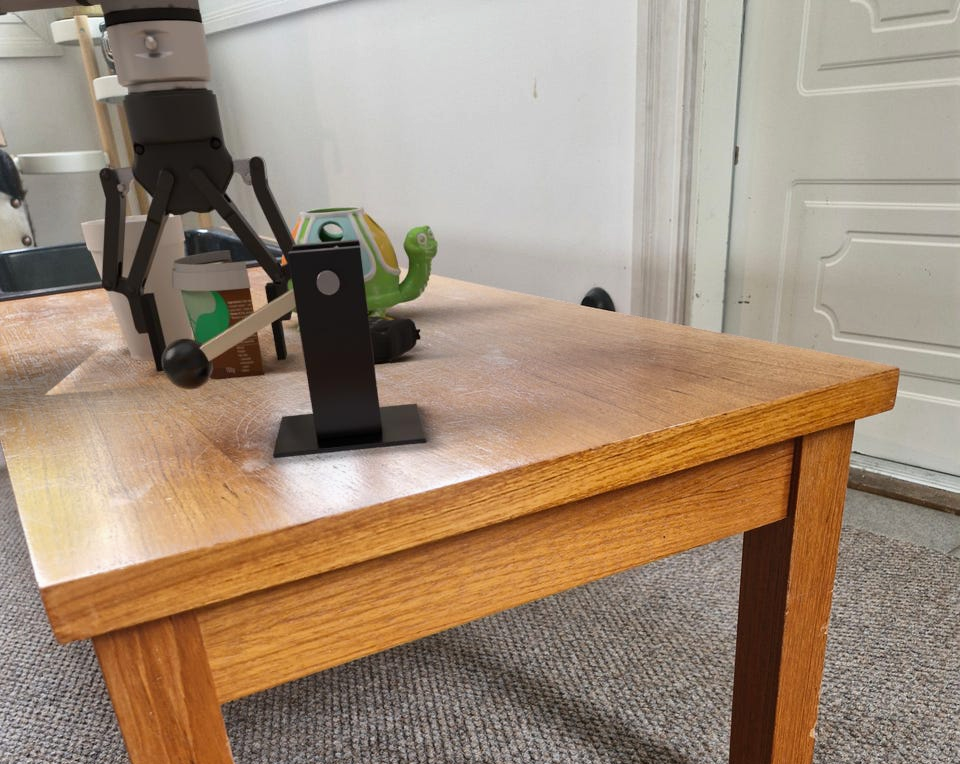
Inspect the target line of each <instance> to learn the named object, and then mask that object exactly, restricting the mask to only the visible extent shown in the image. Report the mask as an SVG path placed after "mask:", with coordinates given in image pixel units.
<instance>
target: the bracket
mask: <svg viewBox="0 0 960 764" xmlns="http://www.w3.org/2000/svg"><path fill="white" fill-rule="evenodd" d="M336 246H338V247H337V248H334V247H336ZM291 248H292V251H289V252H288V260H289V266H290V272H291V279H292V285H293V291H294V298H295V304H296V310H297V313H296V316H297V323H298V326H299V329H300V332H299V335H300V342H301V347H302V354H303V355H302V356H303V360H304V367H305V373H306V380H307V385H308V386H307V387H308V392H309V398H310V405H311V411H312V413H305V414H304V413H303V414H294V415H284V416H281V419H280V424H279V427H278V432H277V437H276V441H275V445H274V449H273V452H272V458H273V459H280V458H288V457H289V458H290V457H299V456H308V455H309V456H311V455H318V454H328V453H338V452H348V451H349V452H350V451H360V450H368V449H379V448H388V447H389V448H390V447H397V446H407V445H418V444H426V443H427V436H426V433H425V429H424V425H423V423H422V422H423V421H422V418H421V413H420V409H419V406H418V404H417V403H408V404H395V405H387V406H380V399H379V391H378V383H377V373H376V366H375V363H374V357H373V349H372V341H371V332H370V324H369V316H368V314H369V312H368V307H367V299H366V291H365V282H364V274H363V266H362V257H361V249H360V241H359V240H358V239H357V240H344V241H332V242H320V243H308V244H296V245H292V247H291Z"/></svg>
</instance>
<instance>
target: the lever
mask: <svg viewBox="0 0 960 764" xmlns="http://www.w3.org/2000/svg"><path fill="white" fill-rule="evenodd" d="M337 247H338V246H336V247H334V248H337ZM295 308H296V304H295V298H294V291H293V288H292V289H291V290H289V291H287V292H286V293H284V294H283V295H281V296H279V297H278V298H276V299H274V300H273V301H271V302H270V303H268V302H267V303H266V304H265V305H263V306H261V307H260V308H258V309H257V310H255V311H254V313H252V314H250V315H249V316H247V317H246V318H244V319H242V320H241V321H239V322H238V323H236V324H234V325H233V326H231V327H230V328H228V329H226V330H225V331H223V332H221V333H220V334H218V335H217V336H215V337H213V338H212V339H210V340H209V341H207V342H205V343H204V344H202V345H201V344H200V343H198V342H197V341H195V339H192V340H191V339H179V340H176V341H173V342H172V343H170V344H169V345H168V346H167V347H166V349H165V350H164V352H163V355H162V369H163V371H162V372H163V374H164V376H165V377H166V378H167V380H168V381H169V382H170V383H171V384H172V385H173V386H176V387H177V388H180V389H183V390H197V389H200V388H201V387H203V386H205V385H206V383H208V381H209V380H210V379H211V378H210V377H211V374H212V369H213V363H212V359H214V358H216V357H217V356H219V355H220V354H222V353H224V352H225V351H227V350H228V349H230V348H232V347H233V346H235V345H237V344H238V343H240V342H241V341H243V340H245V339H246V338H248V337H249V336H251V335H253V334H254V333H256V332H257V333H258V332H259V331H261V330H262V329H264V328H266V327H268V326H269V325H271V323H272V322H274V321H275V320H277V319H279V318H280V317H282V316H283V315H285V314H287V313H288V312H290V311H291V310H293V309H295Z"/></svg>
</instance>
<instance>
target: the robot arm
mask: <svg viewBox="0 0 960 764" xmlns="http://www.w3.org/2000/svg"><path fill="white" fill-rule="evenodd" d="M98 5H100V7H101V11H102V14H103V20H104V21H103V22H104V25H105V29H106V33H107V38H108V42H109V46H110V51H111V56H112V61H113V65H114V70H115V73H116V78H117V83H118V85H120V86H121V87H122V88H127V94H125V95H124V96H123V97H124V99H123V100H122V104H123V109H124V114H125V118H126V123H127V126H128V132H129V135H130V136H129V137H130V140H131V144H132V145H131V146H132V149H133V160H132V164H131V166H125V167H117V168H116V167H114V166H110V167H109V166H108V167H103V168H101V169H100V170H99V175H98V177H99V181H100V184H101V187H102V190H103V191H102V192H103V194H104V197H105V208H104V219H105V225H104V246H103V267H102V279H101V286H102V289H103V290H105V291H106V290H107V291H114V292H117V293H121V294H123V295H125V296H126V297H127V299H128V301H129V305H130V309H131V313H132V317H133V321H134V326H135V329H136V330H137V332H138V333H139V334H143V333H148V336H149V340H150V344H151V348H152V352H153V357H154V360H153V361H154V365H155V369H156V373H159V372H163V369H162V355H163V352H164V350H165V349H166V344H165V339H164V335H163V331H162V326H161V322H160V318H159V314H158V309H157V305H156V301H155V296H154V293H145V294H144V289H145V288H144V287H145V284H146V281H147V278H148V275H149V272H150V269H151V266H152V263H153V260H154V257H155V254H156V251H157V248H158V245H159V242H160V239H161V236H162V233H163V230H164V227H165V224H166V222H167V220H168V217H169V214H173V215H180V216H182V215H185V214H188V213H190V212H192V213H197V214H208V213H209V214H210V213H212V212H213V211H215V212H216V213H217V214H218V215H219V216H220V218H221V219H222V220H223V221H224V222H225V223H226V224H227V225H228V227H229V228H230V229H231V230H232V232H233V233H234V234H235V235H236V237H237V238H238V239H239V241H240V242H241V243H242V245H243V246H244V247H245V248H246V249H247V251H248V252H249V253H250V254H251V256H252V257H253V258H254V260H255V261H256V262H257V263H258V265H259V266H260V267H261V269H262V270H263V271H264V272H265V273H266V275H267V277H268V278H270V280H271V281H272V282H266V284H265V286H264V290H265V291H264V292H265V296H266V302H267V304H268V303H270V302H271V301H273V300H274V299H276V298H278V297H279V296H281V295H283V294H284V293H286V292H287V291H289V289H288V281H289V280H290V279H291V272H290V266H289V260H288V252H289V251H292V248H291V247H292V245H296V243H295V241H294V239H293V237H292V235H291V234H292V232H291V231H290V230H291V229H290V228H289V226H288V223H287V222H286V219H285V217H284V215H283V213H282V211H281V208H280V207H279V205H278V202H277V200H276V198H275V196H274V193H273V191H272V190H271V187H270V184H269V179H268V178H269V177H268V169H267V163H266V160H265V159H264V157H262V156H261V155H260V156H259V155H256V156H252V157H251V158H249V157H248V158H233V157H232V155H231V154H230V152H229V150H228V149H227V146H226V142H225V137H224V132H223V131H224V130H223V125H222V122H221V121H222V120H221V114H220V110H219V104H218V99H217V94H215V93H214V91H213V90H212V89H208V84H207V83H211V82H212V81H213V79H214V76H213V71H212V65H211V59H210V53H209V48H208V43H207V37H206V30H205V25H204V23H203V18H202V13H201V9H200V2H199V0H0V17H2V16H7V15H8V13H9V14H10V13H18V12H30V11H38V10H50V9H60V8H70V7H94V6H98ZM235 173H237V174H239V175H240V176H241V178H242V181H243V183H244V184H245V185H247V186H251V187H252V189H253V193H254V195H255V198H256V200H257V202H258V205H259V206H260V209H261V210H262V212H263V215H264V217H265V219H266V221H267V223H268V225H269V228H270V229H271V231H272V234H273V236H274V238H275V240H276V242H277V244H278V246H279V248H280V251H281V253H282V256H283V255H284V257H285V259H286V261H287V263H286V264H284V265H282V263H280V262H279V260H278V259H277V257H276V256H275V255H274V254H273V253H272V251H271V250H270V249H269V247H268V246H267V245H266V243H265V241H263V240H262V239H261V237H260V236H259V234H258V233H257V232H256V231H255V229H254V228H253V227H252V225H251V224H250V222H248V220H247V219H246V218H245V217H244V215H243V214H242V212H241V211H240V210H239V208H238V207H237V205H236V204H235V202H234V201H233V200H232V199H231V197H230V196H229V194H228V193H227V190H228V188H229V185H230V183H231V181H232V179H233V177H234V174H235ZM134 181H136V182H137V183H138V184H139V185H140V186H141V188H142V189H143V190H144V191H145V192H146V193H147V194H148V195H149V196H150V197H151V201H150V205H149V207H148V211H147V214H146V215H147V220H146V223H145V226H144V229H143V232H142V235H141V238H140V242H139V245H138V248H137V251H136V254H135V257H134V260H133V263H132V266H131V269H130V272H129V275H128V278H126V277H122V273H123V256H124V238H125V221H126V217H127V195H129V194H131V192H132V184H133V182H134ZM292 315H293V312H292V310H291V311H290V312H288V313H287V314H285V315H283V316H282V317H280V318H279V319H277V320H275V321H274V322H272V323H270V325H271V326H270V327H271V331H272V337H273V342H274V348H275V353H276V360H277V361H286V360H287V356H288V350H287V344H286V337H285V332H284V325H283V322H286V321H291V319H292Z"/></svg>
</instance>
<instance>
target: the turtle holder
mask: <svg viewBox="0 0 960 764" xmlns="http://www.w3.org/2000/svg"><path fill="white" fill-rule="evenodd" d="M327 225H328V226H329V225H333V226H337V227H338V228H339V229H340V230H341V231H342V232H339V233H330V232H328V230H326V229H325V227H326V226H327ZM291 235H292V237H293V239H294V241H295V243H296V244H308V243H320V242H332V241H344V240H357V239H358V240H359V241H360V249H361V257H362V266H363V274H364V282H365V291H366V299H367V307H368V316H369V317H371V316H384V317H386V310H387V309H389V308H392V307H395V306H398V305H400V304H402V303H407V302H408V303H409V302H412V301H415V300H416V299H418V298H419V297H420V296H421V295H422V293H424V292H425V290H426V288H427V286H428V284H429V283H428V282H429V281H430V276H431V273H432V272H431V271H432V262H433V261H432V260H434V258H435V257H436V256H437V253H438V241H437V240H436V239H435V236H434V232H433V230H432V229H431V227H430V226H429V225H422V226H416V227H413V228H411V229H410V230H409V231H408V232H407V233H406V236H405V239H404V242H403V250H404V252H405V254H406V256H407V259H408V269H407V273H406V276H405V277H404V279H403V280H402V281H401V282H400V276H401V274H402V270H401V268H400V266H399V261H398V258H397V255H396V254H397V253H396V251H395V248H394V247H393V244H392V242H391V240H390V238H389V237H388V234H387V233H386V231H385V230H384V229H383V228H382V227H381V226H380V225H379V224H378V222H376V221H375V220H374V219H373V218H372V217H371V216H370V215H369V214H367V213H366V212H365V209H364V206H359V205H353V206H352V205H349V206H332V207H331V206H330V207H320V208H312V209H307V210H303V211H301V212H300V213H299V220H298V221H297V222H296V225H295V227H294V229H293V230H292V231H291ZM281 256H282V257H281V266H282V265H284V264H286V263H287V261H286V259H285V257H284V255H283V254H282V255H281ZM292 288H293V285H292V279H290V280H289V281H288V289H289V290H291V289H292ZM292 313H294V314H297V310H296V308H295V309H293V310H292ZM297 332H299V333H300V329H299V325H298V326H297Z"/></svg>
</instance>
